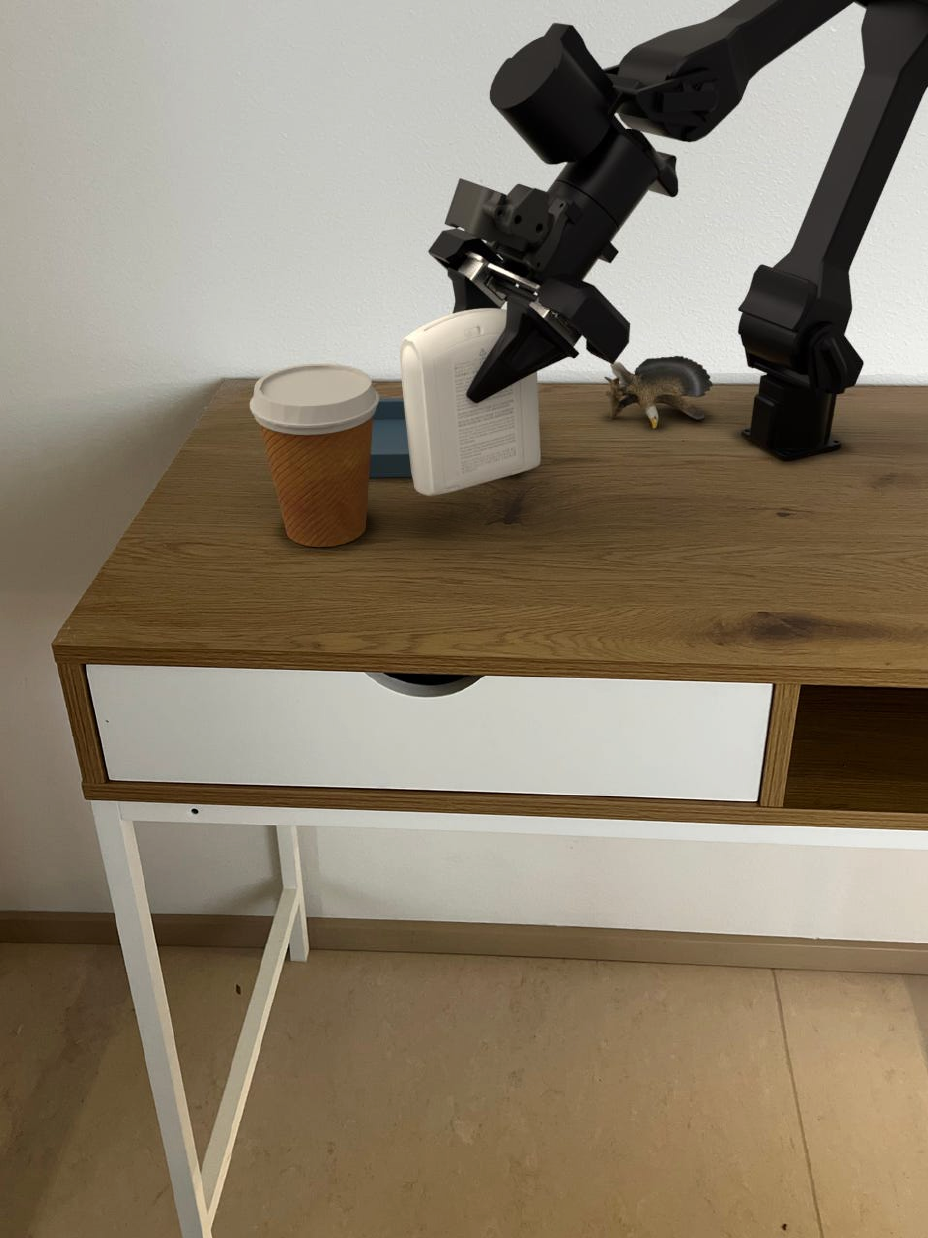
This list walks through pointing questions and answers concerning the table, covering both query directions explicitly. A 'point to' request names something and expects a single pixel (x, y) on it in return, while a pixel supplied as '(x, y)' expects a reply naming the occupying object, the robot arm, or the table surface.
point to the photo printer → (464, 406)
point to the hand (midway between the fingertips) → (454, 389)
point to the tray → (390, 440)
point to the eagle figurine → (659, 385)
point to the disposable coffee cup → (318, 448)
